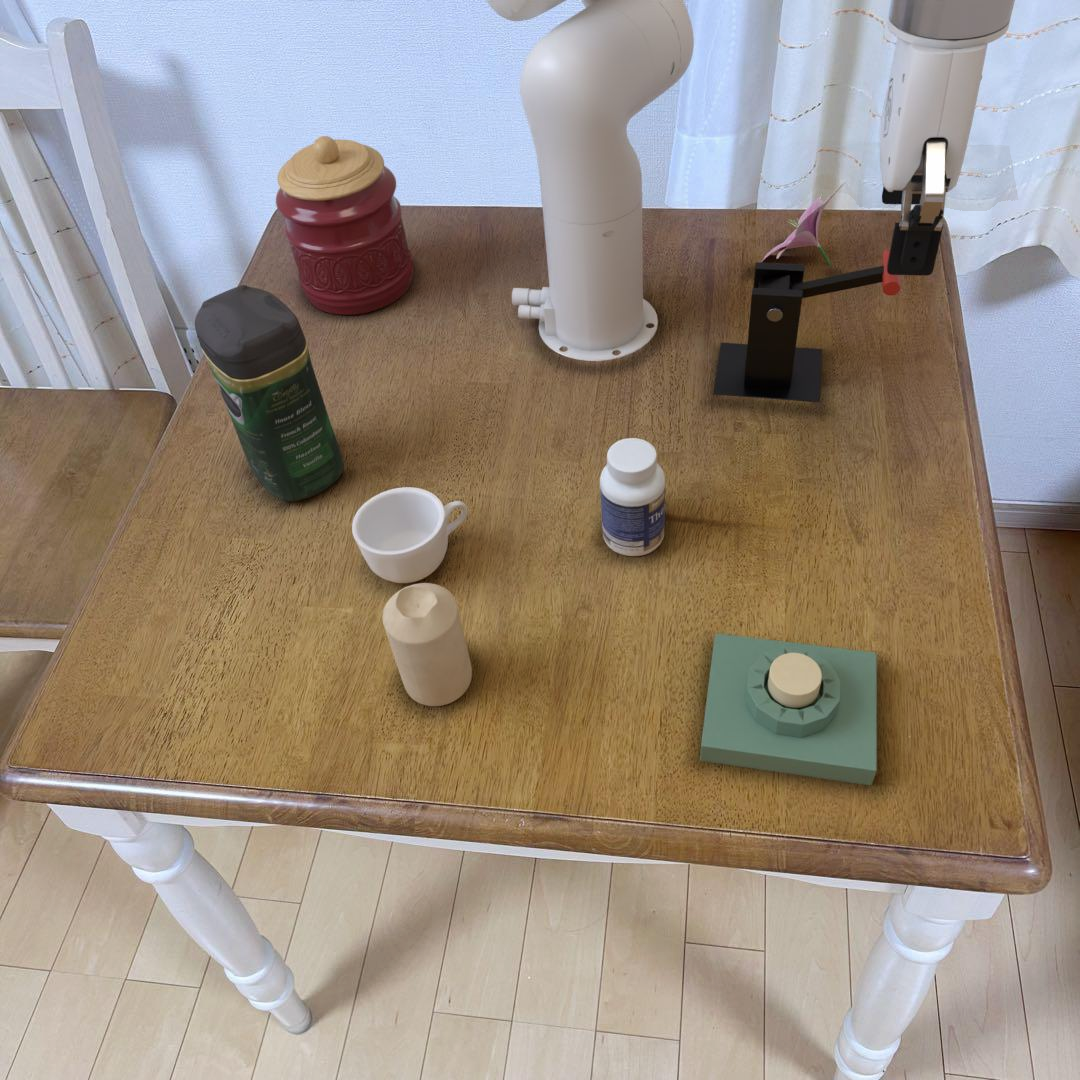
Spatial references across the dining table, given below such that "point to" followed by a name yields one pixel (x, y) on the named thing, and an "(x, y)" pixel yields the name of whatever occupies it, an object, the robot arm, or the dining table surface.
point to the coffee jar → (270, 391)
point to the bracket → (771, 346)
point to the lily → (806, 228)
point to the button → (794, 680)
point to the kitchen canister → (344, 226)
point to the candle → (428, 643)
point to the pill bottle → (632, 498)
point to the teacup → (404, 533)
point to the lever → (841, 281)
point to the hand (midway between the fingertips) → (905, 236)
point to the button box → (791, 712)
